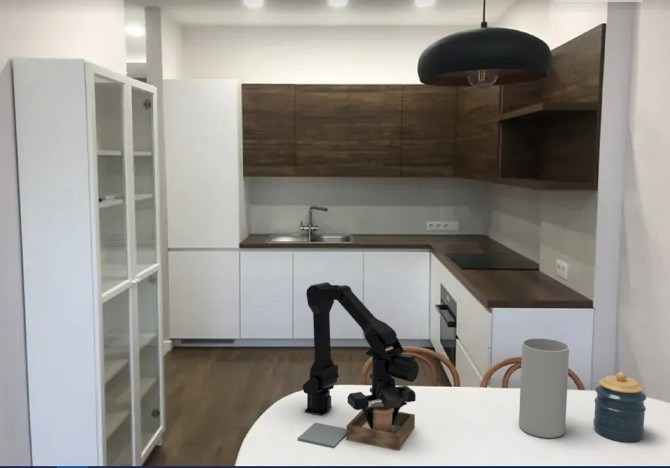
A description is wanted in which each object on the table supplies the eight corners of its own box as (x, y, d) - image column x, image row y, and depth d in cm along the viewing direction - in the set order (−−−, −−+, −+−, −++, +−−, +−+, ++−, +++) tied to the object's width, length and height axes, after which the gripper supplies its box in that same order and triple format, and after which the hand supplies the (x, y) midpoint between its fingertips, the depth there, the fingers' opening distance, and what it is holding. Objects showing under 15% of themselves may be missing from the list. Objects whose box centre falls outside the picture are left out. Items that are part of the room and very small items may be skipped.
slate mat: (297, 440, 157) (297, 438, 157) (315, 424, 167) (315, 422, 167) (334, 448, 153) (334, 446, 153) (350, 431, 163) (350, 429, 163)
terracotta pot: (365, 436, 160) (366, 408, 159) (374, 426, 166) (374, 399, 165) (388, 441, 157) (389, 412, 156) (396, 430, 163) (397, 403, 162)
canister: (639, 426, 167) (643, 367, 165) (647, 446, 155) (652, 383, 153) (591, 420, 171) (594, 362, 170) (595, 438, 159) (598, 377, 157)
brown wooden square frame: (346, 439, 158) (346, 425, 157) (365, 418, 171) (366, 405, 171) (398, 450, 152) (398, 436, 151) (414, 427, 165) (414, 414, 165)
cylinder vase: (522, 416, 173) (525, 336, 171) (566, 425, 168) (570, 341, 165) (515, 433, 162) (519, 347, 159) (563, 442, 157) (567, 353, 154)
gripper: (363, 387, 149) (362, 444, 151) (426, 378, 156) (424, 433, 157) (346, 373, 159) (346, 427, 161) (406, 365, 166) (405, 417, 168)
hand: (381, 426), depth 161 cm, fingers closed on terracotta pot, 6 cm apart
